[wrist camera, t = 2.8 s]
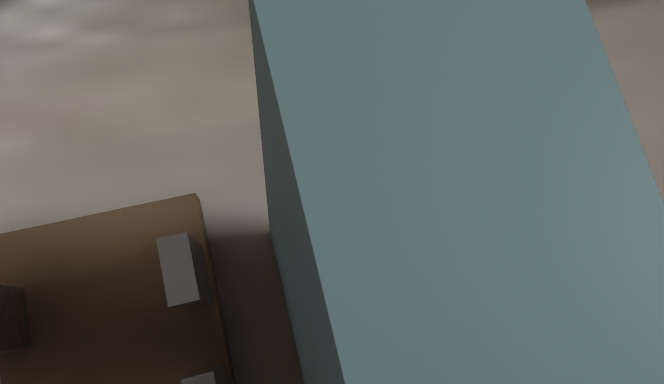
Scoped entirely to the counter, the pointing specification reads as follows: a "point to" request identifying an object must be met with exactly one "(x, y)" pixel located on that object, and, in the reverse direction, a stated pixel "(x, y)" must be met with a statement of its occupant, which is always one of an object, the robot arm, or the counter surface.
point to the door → (457, 194)
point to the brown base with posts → (113, 300)
